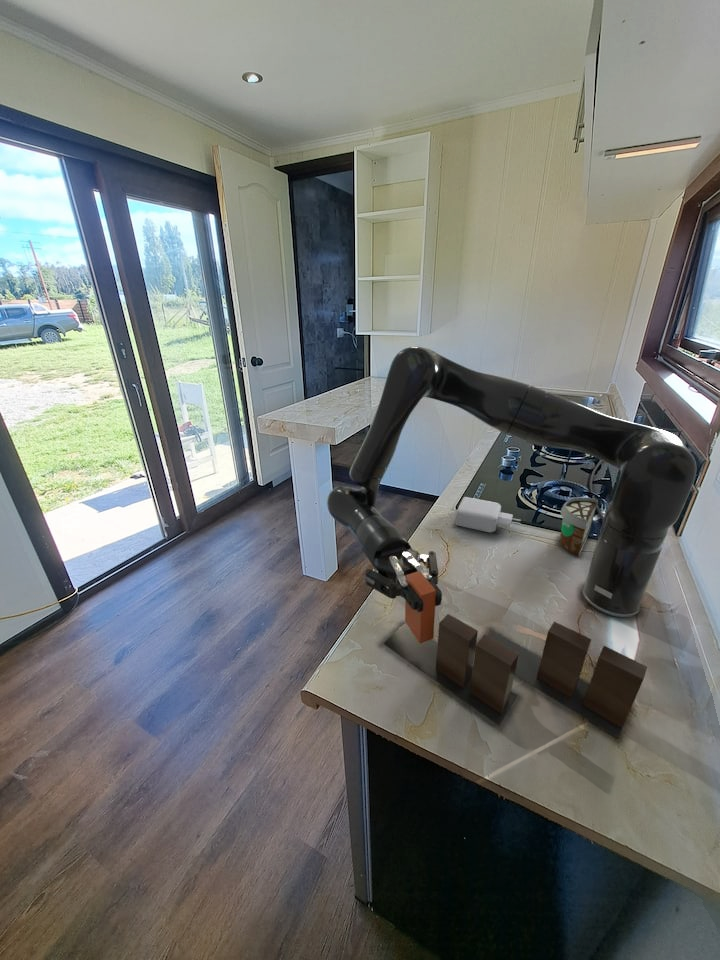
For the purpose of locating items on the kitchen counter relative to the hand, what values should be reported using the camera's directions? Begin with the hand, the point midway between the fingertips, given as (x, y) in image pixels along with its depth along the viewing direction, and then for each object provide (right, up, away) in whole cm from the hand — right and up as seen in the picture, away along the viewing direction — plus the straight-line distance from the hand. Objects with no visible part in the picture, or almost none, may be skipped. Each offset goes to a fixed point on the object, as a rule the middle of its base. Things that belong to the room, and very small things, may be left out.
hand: (430, 603), depth 57 cm
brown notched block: (+19, -13, +2) cm, 23 cm away
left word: (+3, -12, +5) cm, 13 cm away
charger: (+23, +7, +42) cm, 49 cm away
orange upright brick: (-1, -6, +6) cm, 9 cm away
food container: (+39, +4, +34) cm, 52 cm away
